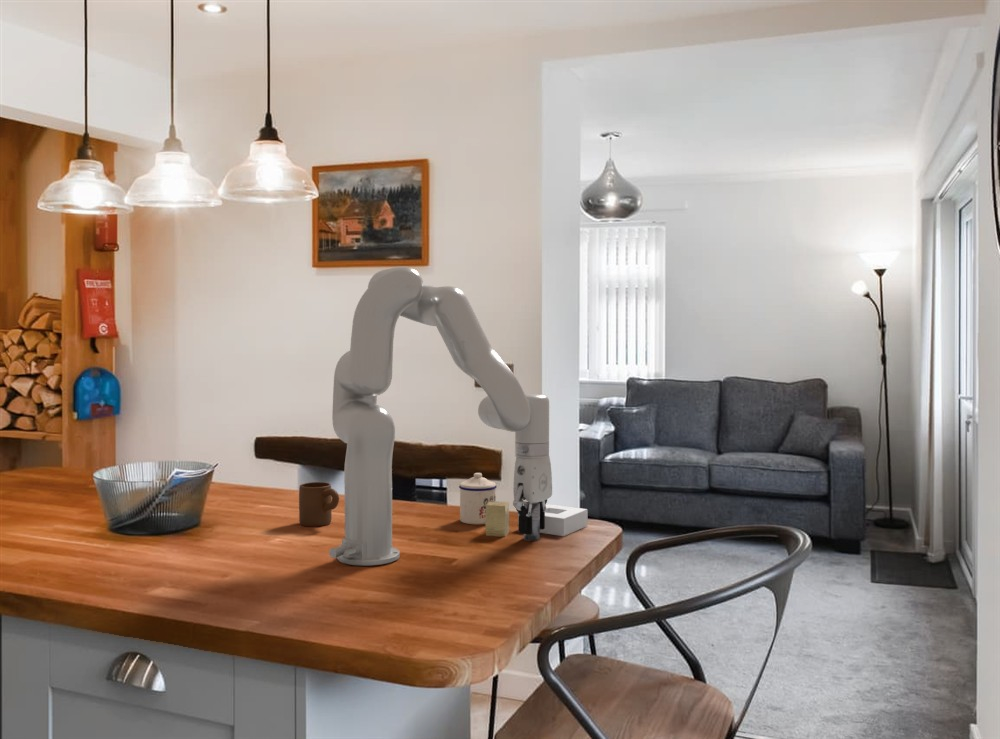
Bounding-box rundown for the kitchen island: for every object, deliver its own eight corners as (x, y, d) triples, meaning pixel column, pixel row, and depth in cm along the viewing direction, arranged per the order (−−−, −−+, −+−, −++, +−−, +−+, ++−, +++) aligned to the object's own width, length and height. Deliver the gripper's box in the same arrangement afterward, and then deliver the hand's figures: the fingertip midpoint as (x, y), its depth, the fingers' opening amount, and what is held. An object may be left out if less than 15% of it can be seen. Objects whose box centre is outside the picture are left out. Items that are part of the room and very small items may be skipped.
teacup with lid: (484, 526, 205) (484, 477, 204) (451, 522, 209) (451, 474, 209) (508, 517, 215) (509, 470, 215) (477, 513, 220) (477, 467, 219)
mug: (350, 525, 205) (350, 486, 205) (324, 531, 200) (324, 491, 199) (318, 518, 213) (317, 480, 213) (292, 524, 207) (292, 485, 207)
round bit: (534, 541, 191) (534, 505, 190) (520, 539, 193) (520, 503, 192) (542, 538, 194) (542, 502, 193) (528, 536, 196) (528, 501, 195)
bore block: (564, 536, 196) (564, 518, 196) (518, 529, 202) (518, 512, 202) (587, 525, 206) (587, 509, 206) (543, 519, 212) (543, 503, 212)
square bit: (505, 536, 195) (505, 505, 195) (485, 535, 196) (485, 505, 196) (509, 532, 200) (509, 501, 199) (489, 531, 201) (489, 501, 200)
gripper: (527, 456, 183) (527, 541, 184) (564, 446, 198) (564, 525, 198) (497, 453, 187) (497, 536, 188) (536, 444, 202) (535, 521, 202)
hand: (531, 530), depth 193 cm, fingers open, 4 cm apart
